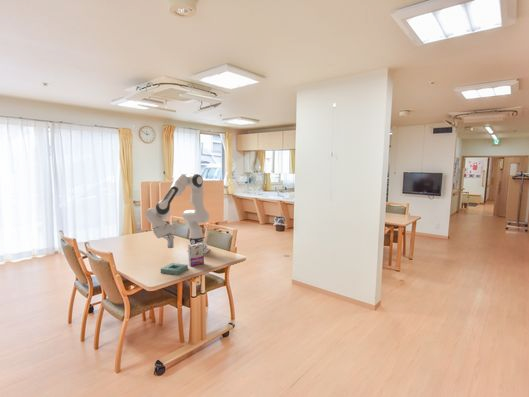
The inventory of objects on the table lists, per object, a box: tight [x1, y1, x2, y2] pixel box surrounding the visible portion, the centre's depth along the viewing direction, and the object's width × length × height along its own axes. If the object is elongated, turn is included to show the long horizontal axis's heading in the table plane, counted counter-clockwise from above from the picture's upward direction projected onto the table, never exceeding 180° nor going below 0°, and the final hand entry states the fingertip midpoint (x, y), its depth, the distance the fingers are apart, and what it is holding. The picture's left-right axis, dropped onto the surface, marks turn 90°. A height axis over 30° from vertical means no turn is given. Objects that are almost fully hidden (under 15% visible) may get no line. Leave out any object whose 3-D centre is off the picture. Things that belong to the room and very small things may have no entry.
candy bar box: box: [187, 243, 205, 267], centre depth 237 cm, size 11×5×16 cm, turn 126°
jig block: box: [160, 262, 189, 276], centre depth 223 cm, size 14×14×3 cm
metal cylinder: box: [167, 234, 175, 249], centre depth 230 cm, size 4×4×10 cm
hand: (171, 239), depth 230 cm, fingers closed on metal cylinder, 4 cm apart
